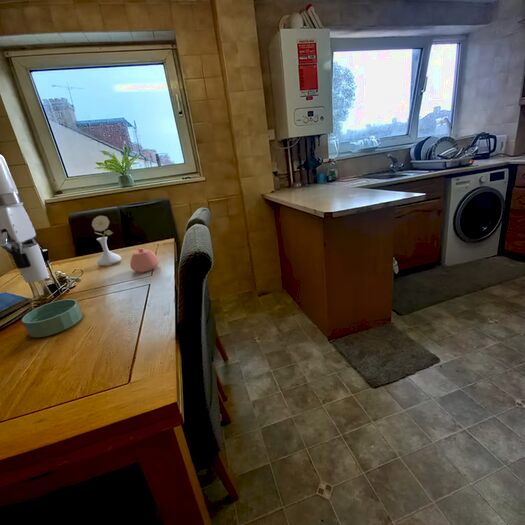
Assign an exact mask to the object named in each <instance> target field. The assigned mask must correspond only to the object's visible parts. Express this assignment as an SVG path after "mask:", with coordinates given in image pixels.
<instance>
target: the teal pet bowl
mask: <svg viewBox="0 0 525 525" xmlns="http://www.w3.org/2000/svg"><path fill="white" fill-rule="evenodd" d="M82 318H83V312H82V310H81V307H80V304H79V301H78V300H77V299H74V298H66V299H59V300H55V301H52V302H47V303H45V304H43V305H40V306H38V307H35V308H34V309H32V310H30V311H28V312H27V313H25V315H24V316H23V317H22V318H21V323H22V325H23V327H24V329H25V331H26V333H27V335H28V336H29V337H30V338H43V337H49V336H52V335H56V334H59V333H61V332H63V331H65V330H67V329H69V328H71V327H73V326H75V325H76V324H77V323H79V322H80V321H81V320H82Z"/></svg>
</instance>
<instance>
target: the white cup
mask: <svg viewBox="0 0 525 525" xmlns="http://www.w3.org/2000/svg"><path fill="white" fill-rule="evenodd" d="M29 246H31V247H29ZM15 247H16V248H17V249H18V247H17V246H15ZM22 247H23V252H24V253H26V255H27V257H28V259H29V261H30V264H31V266H30V267H26V268H21V269H18V270H19V272H20V275H21V276H22V278H23V280H24V282H25V283H27V284H28V283H29V284H30V283H36V282H39V281H42V280H44V279H47V278H48V277H50V274H49V271H48V269H47V265H46V263H45V260H44V257H43V254H42V251H41V249H40V248H41V247H40V245H39V243H38V242H37V243H33V244H26V245H24V244H22Z"/></svg>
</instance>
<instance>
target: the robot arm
mask: <svg viewBox="0 0 525 525" xmlns="http://www.w3.org/2000/svg"><path fill="white" fill-rule="evenodd" d="M33 243H37V244H38V242H37V232H36V230H35V228H34V225H33V223H32V220H31V218H30V217H29V215H28V213H27V211H26V209H25V207H24V202H23V200H22V197H21V195H20V193H19V191H18V188H17V185H16V183H15V181H14V178H13V176H12V174H11V171H10V169H9V167H8V164H7V162H6V159H5V157H4V156H3V155H2V154H0V248H1V249H3V250H5V251H6V252H7V253H8V254H9V256H10V257H12V259H13V262H14V263H15V266H16V268H17V269H18V270H19V269H21V268H26V267H30V266H31V264H30V261H29V259H28V257H27V255H26V253H24V252H23V247H22V245H26V244H33ZM16 247H18V249H17V248H16ZM29 247H31V246H29Z"/></svg>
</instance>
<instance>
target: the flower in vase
mask: <svg viewBox="0 0 525 525" xmlns="http://www.w3.org/2000/svg"><path fill="white" fill-rule="evenodd" d="M110 223H111V222H110V220H109V218H108V216H105V215H98V216H96V217H95V218H93V220H92V221H91V227H92V228H93V230H94V231H96V232H95V234H97V235H101V237H97V238H96V241H98V243H99V244H100V245H101V248H102V254H101V255H100V256H99V258H98V260H97V261H96V265H98V266H104V267H105V266H111V265H114V264H116V263H118V262H121V260H122V257H121V256H120V255H119V254H116V253H114V252H112V251H110V250H109V248H108V244H107V240H108V236H111V235H112V234H114V232H113V231H111V230H110V229H108V228H109V225H110ZM99 232H103V234H102V233H99ZM105 235H107V236H105Z"/></svg>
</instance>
